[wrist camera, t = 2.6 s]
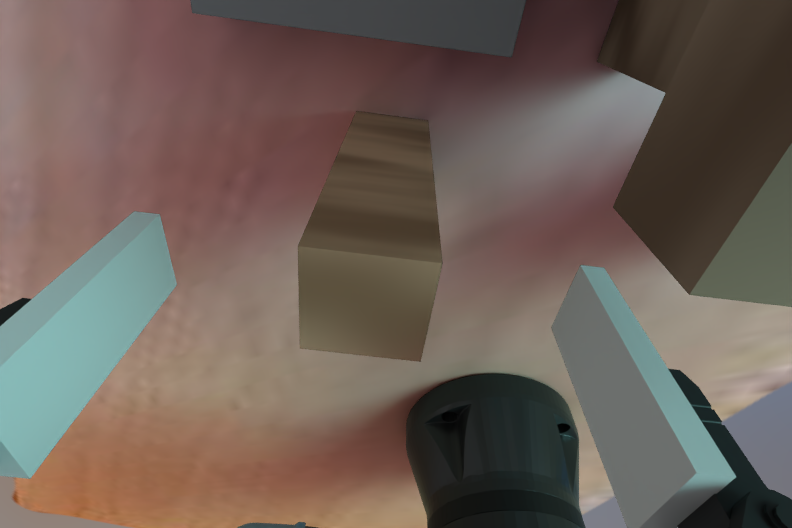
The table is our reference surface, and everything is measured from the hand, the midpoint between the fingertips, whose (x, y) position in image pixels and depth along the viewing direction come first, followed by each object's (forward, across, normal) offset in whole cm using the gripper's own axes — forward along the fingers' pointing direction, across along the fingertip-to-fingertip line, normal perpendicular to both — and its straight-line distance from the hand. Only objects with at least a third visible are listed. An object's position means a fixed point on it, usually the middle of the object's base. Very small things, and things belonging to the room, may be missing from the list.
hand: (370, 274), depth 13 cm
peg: (+13, 0, 0) cm, 13 cm away
